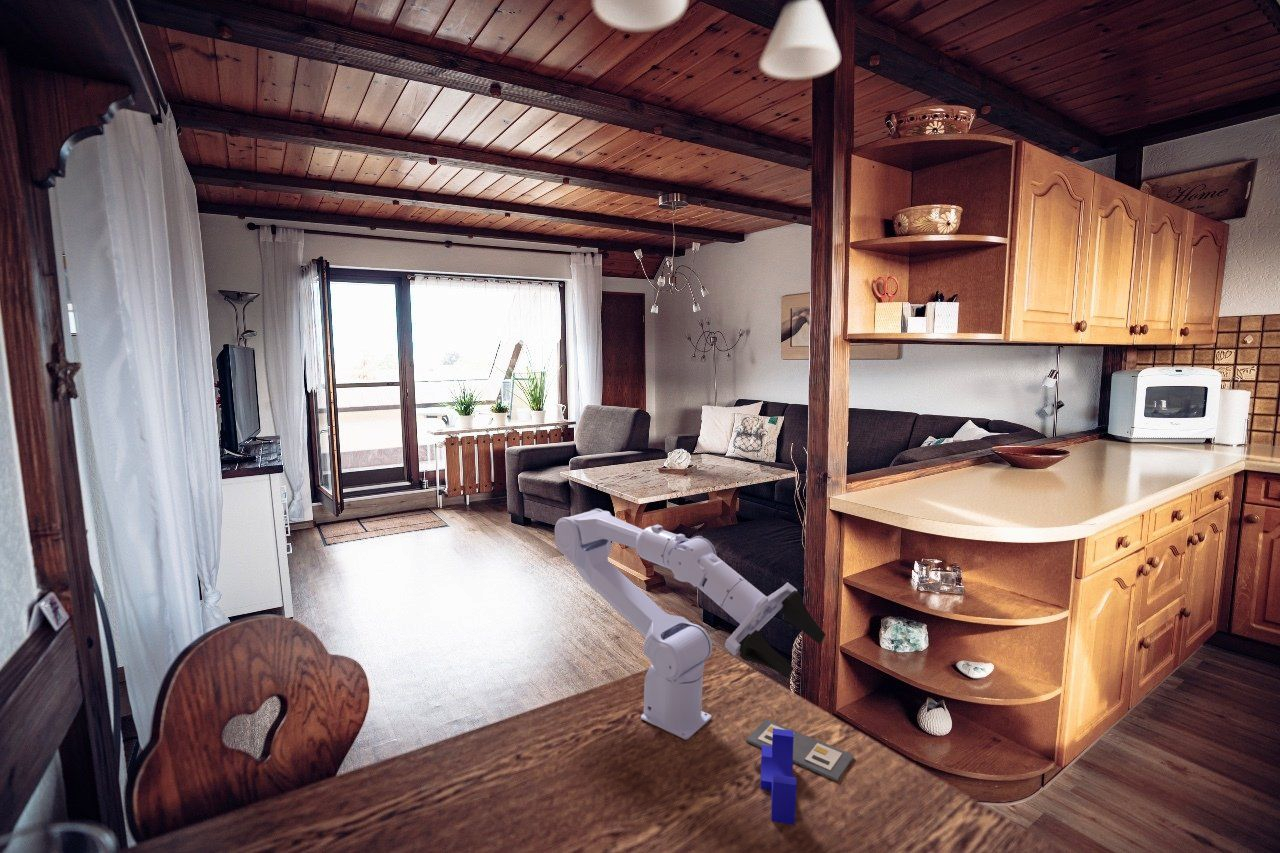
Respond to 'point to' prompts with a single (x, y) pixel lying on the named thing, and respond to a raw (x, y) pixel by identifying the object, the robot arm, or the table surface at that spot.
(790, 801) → the cable clip
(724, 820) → the table surface
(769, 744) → the label board
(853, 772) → the table surface
